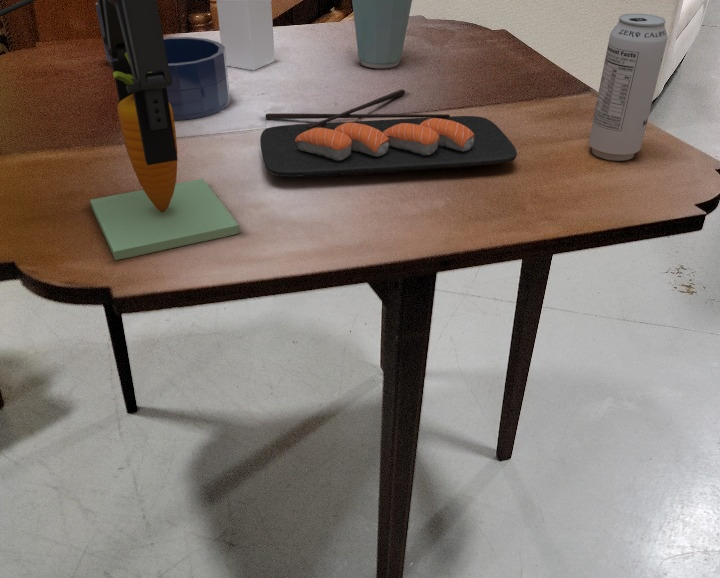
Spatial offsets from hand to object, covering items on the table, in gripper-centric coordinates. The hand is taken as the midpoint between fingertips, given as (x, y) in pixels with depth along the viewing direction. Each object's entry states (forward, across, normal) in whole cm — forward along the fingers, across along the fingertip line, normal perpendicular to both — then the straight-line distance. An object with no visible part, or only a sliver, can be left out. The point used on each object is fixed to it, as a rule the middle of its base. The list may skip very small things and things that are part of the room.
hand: (150, 144), depth 69 cm
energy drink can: (+8, -6, -53) cm, 54 cm away
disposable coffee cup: (+8, +39, -45) cm, 60 cm away
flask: (+8, +54, -8) cm, 55 cm away
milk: (+8, +48, -26) cm, 55 cm away
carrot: (+7, 0, 0) cm, 7 cm away
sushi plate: (+8, +12, -30) cm, 33 cm away
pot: (+8, +34, -11) cm, 37 cm away
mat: (+8, 0, 0) cm, 8 cm away
